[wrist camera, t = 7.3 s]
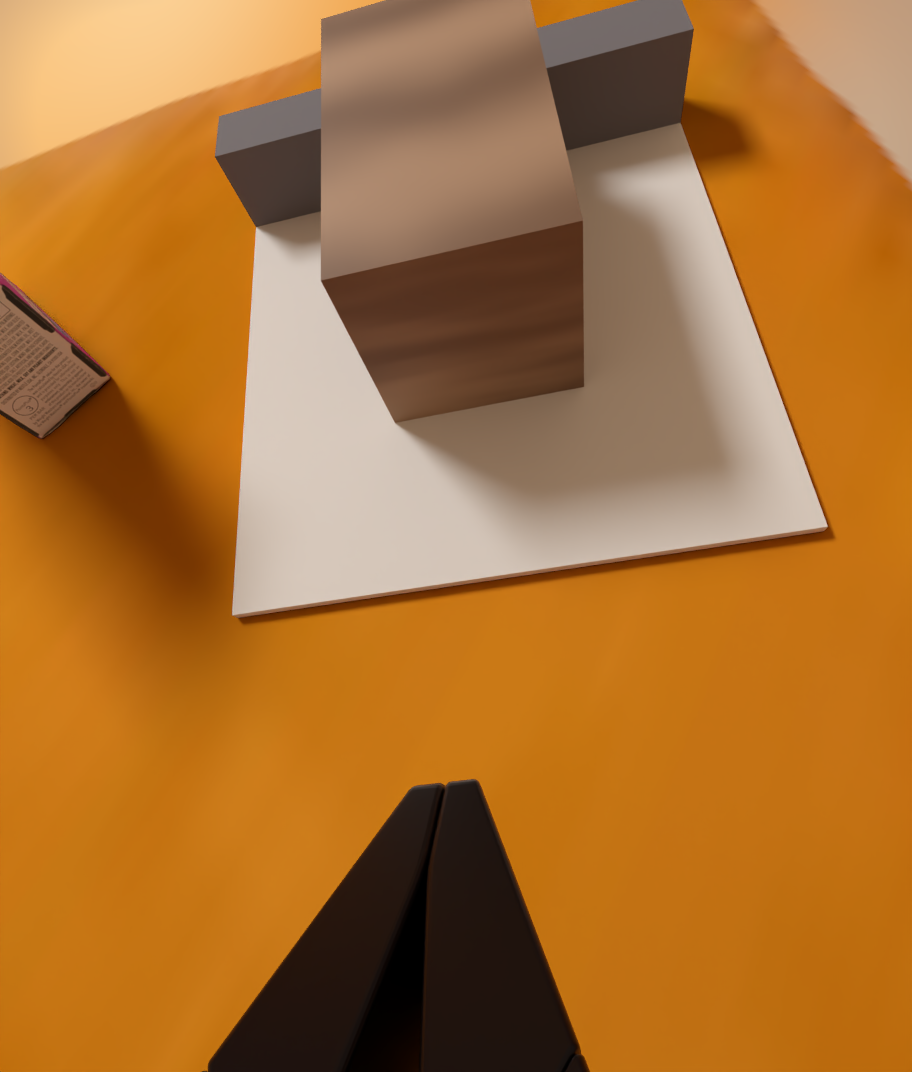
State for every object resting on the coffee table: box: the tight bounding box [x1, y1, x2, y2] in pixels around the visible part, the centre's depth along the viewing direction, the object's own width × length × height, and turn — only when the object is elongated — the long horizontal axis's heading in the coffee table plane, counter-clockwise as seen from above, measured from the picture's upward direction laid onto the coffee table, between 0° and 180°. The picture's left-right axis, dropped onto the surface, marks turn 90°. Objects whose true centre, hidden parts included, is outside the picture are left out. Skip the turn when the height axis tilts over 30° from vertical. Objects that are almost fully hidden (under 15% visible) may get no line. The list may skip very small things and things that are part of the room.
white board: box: [215, 0, 828, 618], centre depth 26 cm, size 25×22×4 cm
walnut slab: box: [321, 0, 584, 423], centre depth 25 cm, size 14×8×8 cm, turn 5°
